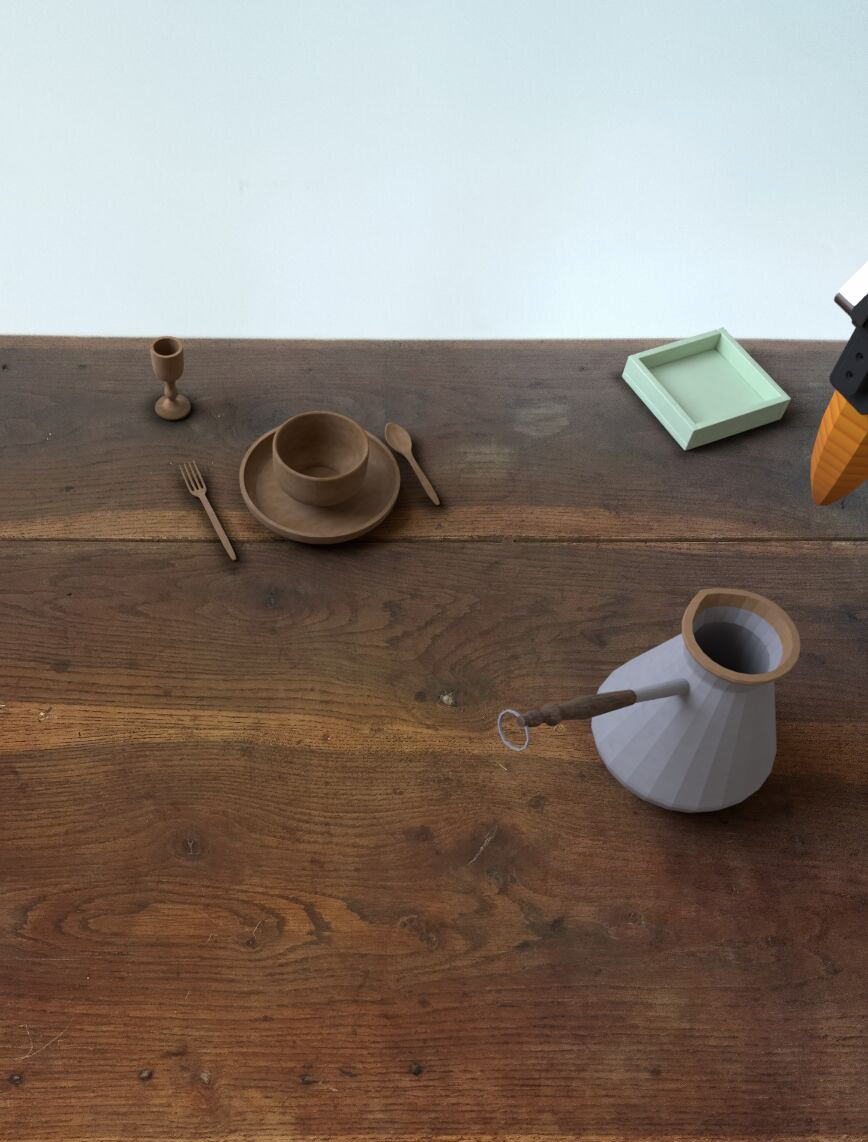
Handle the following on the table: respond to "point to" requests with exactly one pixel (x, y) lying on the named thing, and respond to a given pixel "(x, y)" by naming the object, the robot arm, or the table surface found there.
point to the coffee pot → (692, 705)
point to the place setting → (303, 468)
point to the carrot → (839, 452)
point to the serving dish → (705, 388)
